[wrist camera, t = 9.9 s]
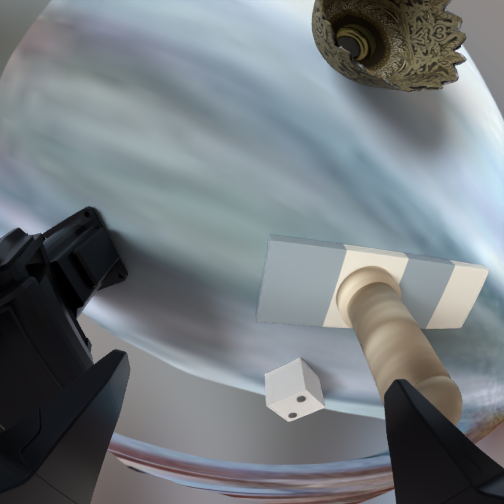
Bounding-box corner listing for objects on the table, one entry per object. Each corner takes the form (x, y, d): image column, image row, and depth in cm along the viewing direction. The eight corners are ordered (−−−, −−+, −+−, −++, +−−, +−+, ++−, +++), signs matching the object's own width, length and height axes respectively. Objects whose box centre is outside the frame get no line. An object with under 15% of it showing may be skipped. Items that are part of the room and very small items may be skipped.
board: (255, 313, 23) (255, 321, 23) (269, 234, 20) (270, 240, 19) (456, 322, 25) (460, 328, 24) (483, 265, 22) (489, 270, 21)
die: (285, 391, 28) (288, 423, 25) (264, 373, 27) (266, 407, 23) (318, 376, 27) (325, 408, 24) (299, 356, 26) (305, 390, 22)
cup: (305, 103, 16) (343, 93, 9) (280, 4, 13) (299, -56, 6) (405, 96, 16) (481, 96, 9) (383, 4, 13) (442, -34, 6)
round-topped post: (341, 326, 23) (390, 473, 11) (329, 278, 21) (394, 444, 9) (395, 306, 22) (468, 437, 10) (390, 256, 20) (491, 395, 8)
